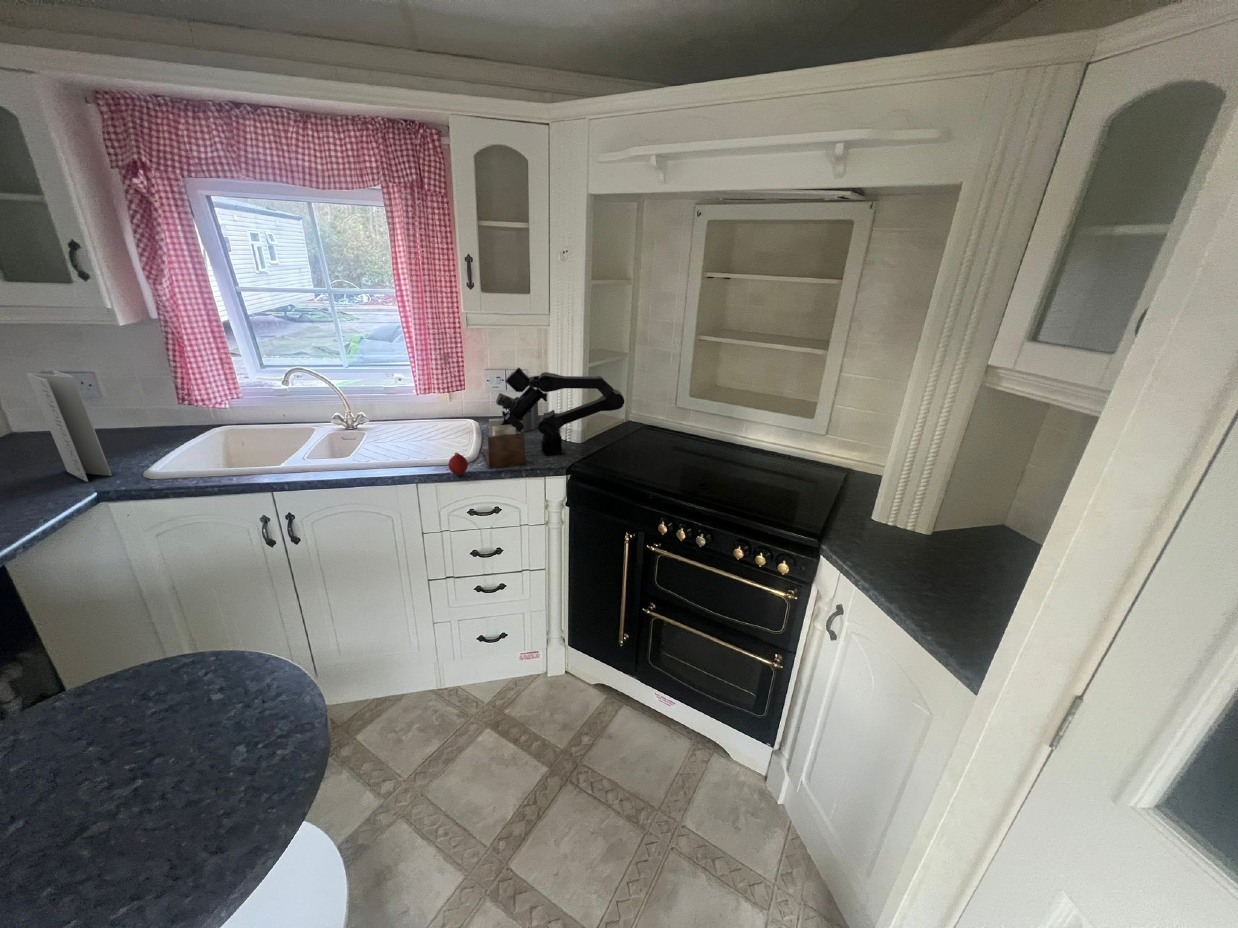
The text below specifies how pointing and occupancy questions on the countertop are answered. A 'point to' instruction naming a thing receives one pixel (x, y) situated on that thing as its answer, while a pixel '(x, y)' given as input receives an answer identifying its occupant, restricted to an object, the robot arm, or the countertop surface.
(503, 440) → the cream-topped brown block
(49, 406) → the brochure
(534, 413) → the grey books
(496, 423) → the white book
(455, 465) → the onion
